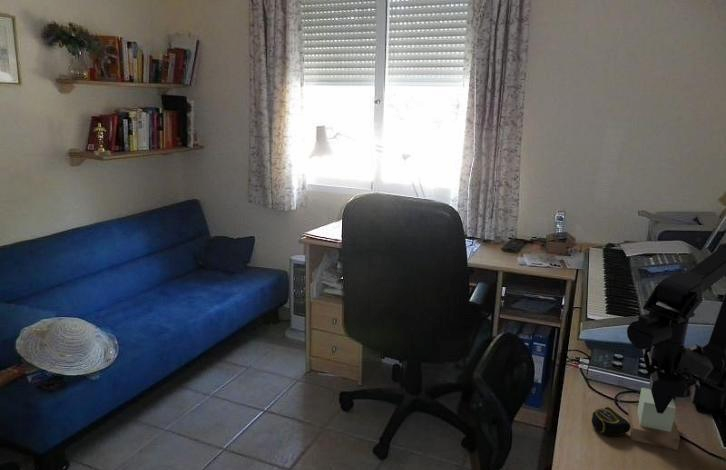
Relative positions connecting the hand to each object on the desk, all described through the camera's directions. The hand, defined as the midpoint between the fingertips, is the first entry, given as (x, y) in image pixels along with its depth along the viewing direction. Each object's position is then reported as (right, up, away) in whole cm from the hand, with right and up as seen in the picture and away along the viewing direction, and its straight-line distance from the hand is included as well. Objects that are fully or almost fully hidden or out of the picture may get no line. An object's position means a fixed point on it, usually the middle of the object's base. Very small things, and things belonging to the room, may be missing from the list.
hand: (657, 401), depth 115 cm
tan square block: (0, -8, +2) cm, 8 cm away
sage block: (0, -5, +2) cm, 5 cm away
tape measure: (-9, -8, +4) cm, 12 cm away
